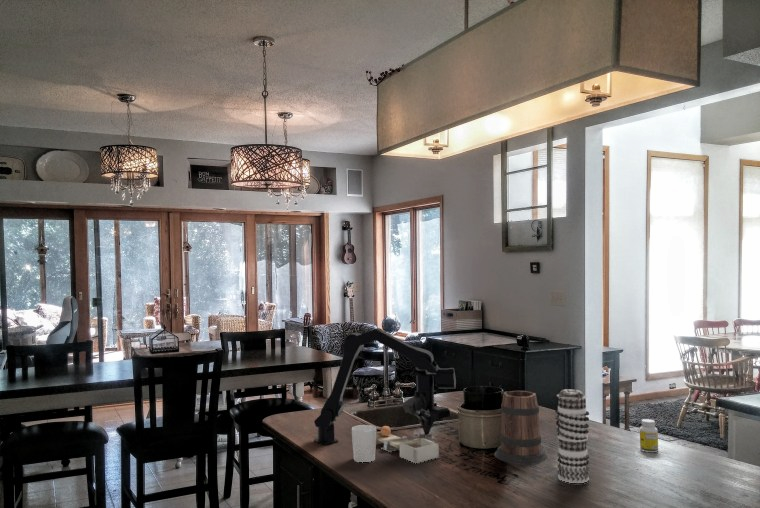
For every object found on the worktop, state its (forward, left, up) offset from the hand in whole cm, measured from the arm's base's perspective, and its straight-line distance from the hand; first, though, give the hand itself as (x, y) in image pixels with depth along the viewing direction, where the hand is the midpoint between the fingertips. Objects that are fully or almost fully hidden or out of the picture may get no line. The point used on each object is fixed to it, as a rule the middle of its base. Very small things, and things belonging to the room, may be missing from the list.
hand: (426, 434), depth 199 cm
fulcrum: (-6, -9, -4) cm, 11 cm away
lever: (-6, -5, -2) cm, 8 cm away
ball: (-11, -9, 0) cm, 15 cm away
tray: (+7, -9, -4) cm, 12 cm away
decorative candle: (+48, +14, -5) cm, 51 cm away
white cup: (-2, -24, -5) cm, 24 cm away
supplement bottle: (+47, +55, -5) cm, 73 cm away
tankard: (+23, +21, -5) cm, 32 cm away
